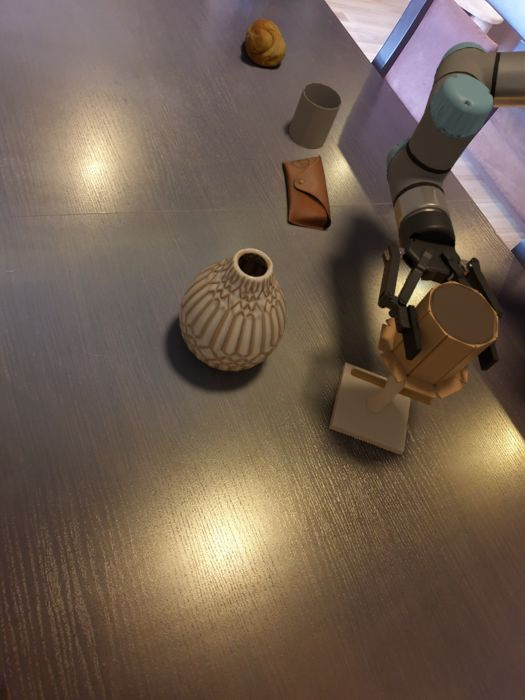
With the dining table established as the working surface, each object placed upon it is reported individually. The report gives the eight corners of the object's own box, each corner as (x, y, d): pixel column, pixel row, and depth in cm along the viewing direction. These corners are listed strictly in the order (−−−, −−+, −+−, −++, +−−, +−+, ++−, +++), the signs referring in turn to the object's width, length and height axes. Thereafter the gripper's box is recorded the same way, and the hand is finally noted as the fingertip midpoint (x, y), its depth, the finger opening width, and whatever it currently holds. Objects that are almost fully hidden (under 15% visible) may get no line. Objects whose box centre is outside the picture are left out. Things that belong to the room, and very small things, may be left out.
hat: (468, 334, 81) (512, 293, 73) (463, 411, 74) (511, 375, 65) (385, 301, 80) (420, 256, 72) (372, 376, 73) (409, 334, 64)
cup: (307, 119, 127) (322, 78, 119) (332, 142, 125) (349, 102, 117) (281, 129, 123) (295, 88, 115) (306, 153, 121) (322, 113, 113)
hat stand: (411, 393, 95) (479, 329, 79) (403, 456, 88) (476, 401, 72) (338, 365, 94) (391, 294, 78) (324, 426, 87) (379, 363, 71)
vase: (203, 401, 84) (232, 329, 68) (155, 319, 90) (171, 233, 73) (288, 364, 92) (333, 291, 75) (240, 290, 97) (271, 207, 81)
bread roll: (241, 34, 138) (248, 1, 131) (279, 43, 140) (288, 10, 134) (243, 66, 131) (251, 32, 125) (283, 74, 134) (293, 42, 127)
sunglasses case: (280, 159, 117) (304, 139, 113) (302, 176, 121) (326, 158, 117) (287, 223, 108) (314, 204, 104) (311, 240, 112) (338, 222, 108)
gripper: (477, 256, 87) (512, 384, 75) (341, 230, 82) (356, 363, 70) (507, 222, 81) (550, 356, 69) (362, 192, 76) (382, 331, 64)
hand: (452, 360), depth 70 cm, fingers closed on hat, 10 cm apart
